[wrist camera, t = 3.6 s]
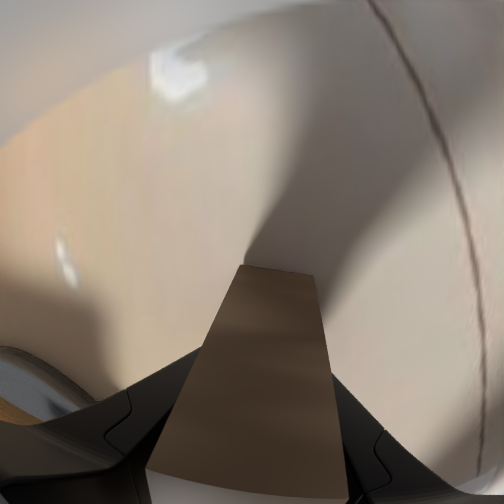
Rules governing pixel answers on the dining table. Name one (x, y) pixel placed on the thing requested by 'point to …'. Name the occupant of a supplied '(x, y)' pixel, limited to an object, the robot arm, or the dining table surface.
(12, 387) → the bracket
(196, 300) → the dining table surface
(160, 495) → the block
